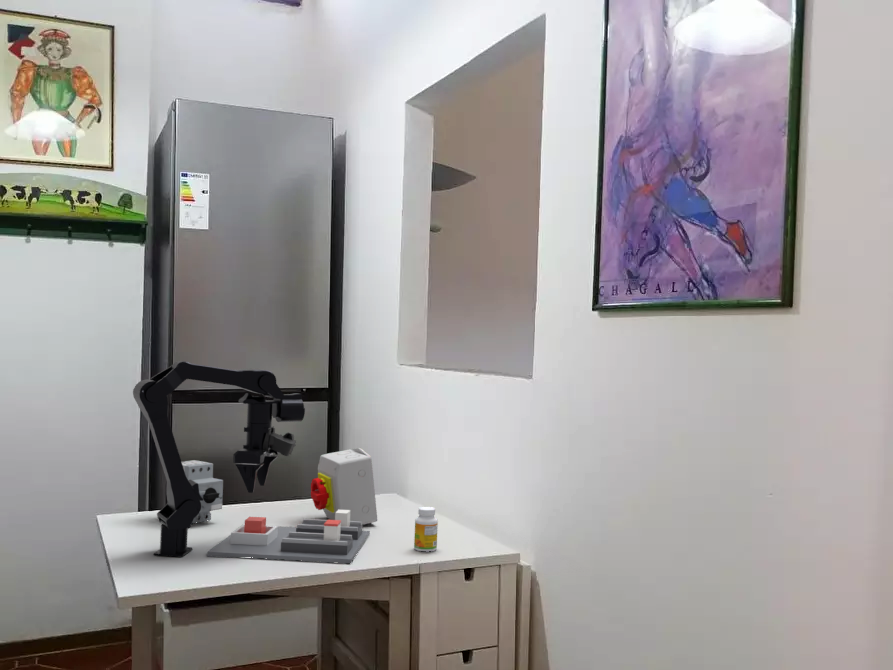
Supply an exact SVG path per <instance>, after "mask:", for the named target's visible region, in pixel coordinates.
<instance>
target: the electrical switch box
mask: <svg viewBox="0 0 893 670" xmlns="http://www.w3.org/2000/svg"><path fill="white" fill-rule="evenodd" d="M373 472H374V471H373V462H372V456H371V455H370V454H369V453H367V452H366V451H365V450H363V449H362V448H361V447H357V448H350V449H345V450H341V451H335V452H334V451H333V452H329V453H325V454H321V455H320V456H319V461H318V465H317V477H316V478H312V480H311V483H310V498H311V499H312V502H313V504H314V507H315V509H316V510H318V511H321V510H323V512H324V514H325V516H326V518H327V519H328V520H335V513H336V512H337V511H338V509H339V510H350V521H356V522H362V525H363V526H364V525H368V524H372V523H376V522H378V511H377V501H376V493H375V490H376V489H375V482H374V481H375V480H374V473H373Z"/></svg>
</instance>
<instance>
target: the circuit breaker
mask: <svg viewBox="0 0 893 670" xmlns="http://www.w3.org/2000/svg"><path fill="white" fill-rule="evenodd" d="M181 462H182V465H183V468H184V472H185V475H186V477H187V479H188V480H190V479H191V480H192V481H194V482H196V483H198V486H199V493H200V496H201V497H202V499H203V501H200V502H201V510H200V512H199V514H198V515H197V516H196V517H195V518H194V519H193V522H192V523H195V524H197V523H196V522H201V523H203V522H202V521H206V522H208V521H207V520H211V521H212V513H211V512H212V511H217V510H218V511H219V510H223V495H224V493H223V492H224V491H223V490H224V479H220V478H217V477H216V478H214V463H212V462H207V461H202V460H201V461H200V460H195V459H193V460H184V461H181Z"/></svg>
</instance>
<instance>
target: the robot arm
mask: <svg viewBox="0 0 893 670" xmlns="http://www.w3.org/2000/svg"><path fill="white" fill-rule="evenodd" d="M187 380H193V381H200V382H206V383H212V384H213V383H214V384H220V385H221V384H222V385H229V386H234V387H236V388H239V389H242V390H245V391H248V392H251V393H254V394H259V396H258V395H257V396H254V395H252V394H251V393H248V392H246V393H245V394H244V395H243V396H242V397H240V398H239V399H238V403H241V404H243V405H244V404H245V405H247V406H246V407H247V411H246V413H247V414H246V426H244V427H243V432H245V433H246V436H245V444H243V445H242V446H243V448H240V449H238V450H237V451H235V452H234V453H233V454H232V455H233V458H232V463H233V464H234V465H235V467H236V468H237V470H238V471H239V474H240V476H241V479H242V481H243V483H244V486H245V488H246V491H247V492H248V493H251V494H252V493H254V491H255V486H256V483H257V482H256V480H258V484H259V486H260V487H264V486H265V485H266V482H267V479H268V475H269V472H270V468H271V465H272V463H273V462H274V461H275V460H277V459H278V457H279V455H282V456H284V457H289V455H292V453H293V451H294V449H295V447H296V445H297V444H296V443H297V442H296V441H297V440H295V436H294V433H291V432H286V433H284V434H283V435H282V434H278V433H276V428H275V426H273V425H272V423H273V418H274V419H275V421H276V422H277V423H291V422H292V423H295V422H298V423H299V422H302V421H303V419H304V417H305V413H306V408H305V405H304V402H303V399H302V394H301V393H294V392H293V393H290V394H289V393H287V394H285V393H284V392H283V391H282V390H281V388H280V387H279V385H278V383H277V377H276V376H275V374H274V372H273V371H270V370H269V369H268V370H267V369H263V368H262V369H261V368H245V369H244V368H243V369H242V368H241V369H231V368H225V367H224V368H223V367H218V366H217V367H216V366H210V365H203V364H197V363H192V362H189V361H184V360H177V361H175V362H174V363H172V365H170V366H169V367H167V368H166V369H164V370H162V371H160V372H158V373H157V374H155V375H153V376H152V377H151V378H148V379H142V380H140V381H139V382H138V383H137V384H135V386H134V387H133V389H132V395H133V398H134V400H135V403H136V404H137V407H138V408H139V410H140V411H141V412H142V415H143V416H144V418H145V420H146V421H147V423H148V425H149V429H150V431H151V435H152V438H153V441H154V443H155V444H154V445H155V448H156V451H157V455H158V457H159V461H160V464H161V467H162V471H163V473H164V477H165V480H166V489H165V492H166V494H165V495H166V500H167V503H166V504H165V505H164V506H163V507H162V508H161V509H160V510H159V511H158V512H157V513H156V516H157V520H158V522H159V523H161V525H160V539H159V540H160V541H159V543H160V544H159V549H158V550H157V551H154V552H153V555H154V556H161V557H176V558H177V557H179V558H181V557H184V556H186V555H187V554H188V553H190V552H191V551H192V550H193V547H191V546H189V547H188V533H189V529H190V528H191V527H192V525H193V524H192V522H193V519H194V518H195V517H196V516H197V515H198V514H199V512H200V510H201V502H200V501H203V499H202V497H201V496H200V493H199V486H198V483H196V482H194V481H192V480H191V479H190V480H188V479H187V477H186V475H185V472H184V468H183V465H182V462H183V461H182V458H181V455H180V452H179V449H178V446H177V442H176V439H175V436H174V432H173V429H172V427H171V423H170V421H169V400H168V398H169V397H168V395H170V394H172V392H174V391H175V390H176V389H177V388H178V387H179V386H180V385H182V383H184V382H185V381H187ZM260 395H261V396H260ZM266 397H267V398H269V399H270V398H271V399H273V400H269V399H268V400H267V399H266Z"/></svg>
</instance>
